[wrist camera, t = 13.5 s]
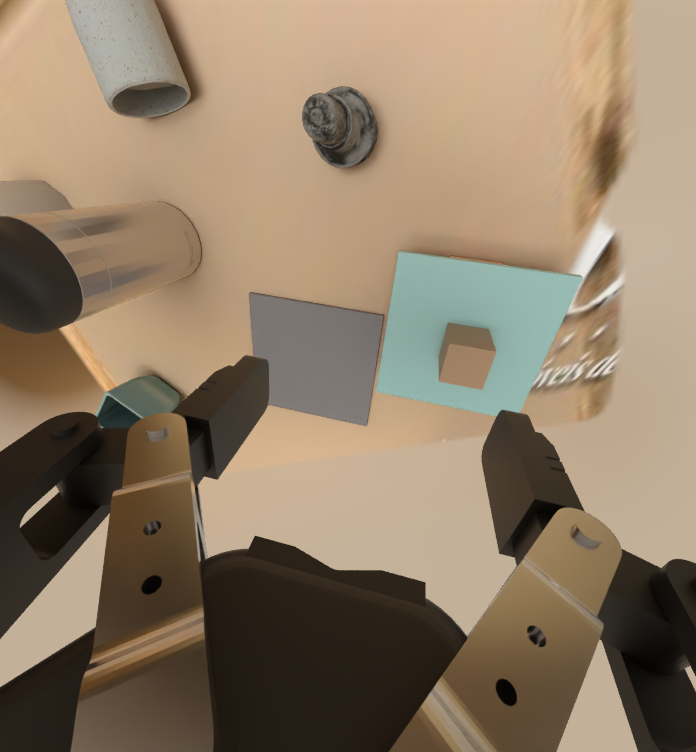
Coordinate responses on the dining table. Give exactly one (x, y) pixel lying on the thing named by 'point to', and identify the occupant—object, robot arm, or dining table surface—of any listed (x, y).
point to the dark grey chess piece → (340, 126)
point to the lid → (470, 331)
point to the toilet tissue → (30, 198)
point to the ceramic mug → (130, 56)
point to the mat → (317, 356)
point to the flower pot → (136, 402)
